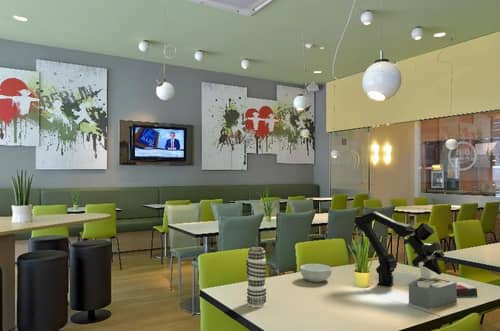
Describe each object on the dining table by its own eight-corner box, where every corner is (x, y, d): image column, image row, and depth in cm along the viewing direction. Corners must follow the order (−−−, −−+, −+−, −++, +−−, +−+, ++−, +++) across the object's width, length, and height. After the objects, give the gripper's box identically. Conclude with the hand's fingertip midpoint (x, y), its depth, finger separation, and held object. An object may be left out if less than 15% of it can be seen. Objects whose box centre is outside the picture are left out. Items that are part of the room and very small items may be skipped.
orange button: (433, 288, 181) (433, 281, 181) (439, 286, 183) (439, 279, 183) (443, 290, 176) (443, 284, 177) (449, 289, 179) (449, 282, 179)
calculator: (433, 283, 193) (462, 280, 195) (434, 292, 193) (462, 289, 195) (447, 289, 182) (477, 286, 184) (447, 299, 182) (477, 296, 184)
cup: (416, 279, 212) (416, 246, 213) (414, 274, 223) (414, 243, 223) (438, 281, 209) (437, 247, 210) (435, 276, 220) (434, 243, 220)
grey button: (415, 289, 173) (414, 282, 173) (421, 287, 176) (421, 280, 176) (425, 291, 169) (425, 284, 169) (432, 289, 172) (432, 283, 172)
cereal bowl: (295, 281, 209) (295, 268, 210) (307, 274, 224) (307, 262, 224) (325, 286, 201) (325, 272, 201) (336, 278, 215) (336, 266, 215)
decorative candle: (242, 303, 174) (241, 247, 174) (258, 299, 179) (258, 245, 180) (254, 309, 167) (254, 250, 167) (271, 304, 172) (270, 248, 173)
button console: (408, 302, 174) (408, 284, 175) (435, 294, 186) (435, 277, 186) (429, 309, 166) (429, 289, 166) (456, 300, 178) (456, 281, 178)
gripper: (417, 238, 180) (440, 266, 171) (440, 234, 190) (463, 261, 181) (402, 252, 187) (424, 280, 177) (425, 248, 197) (447, 275, 187)
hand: (440, 274), depth 180 cm, fingers closed
